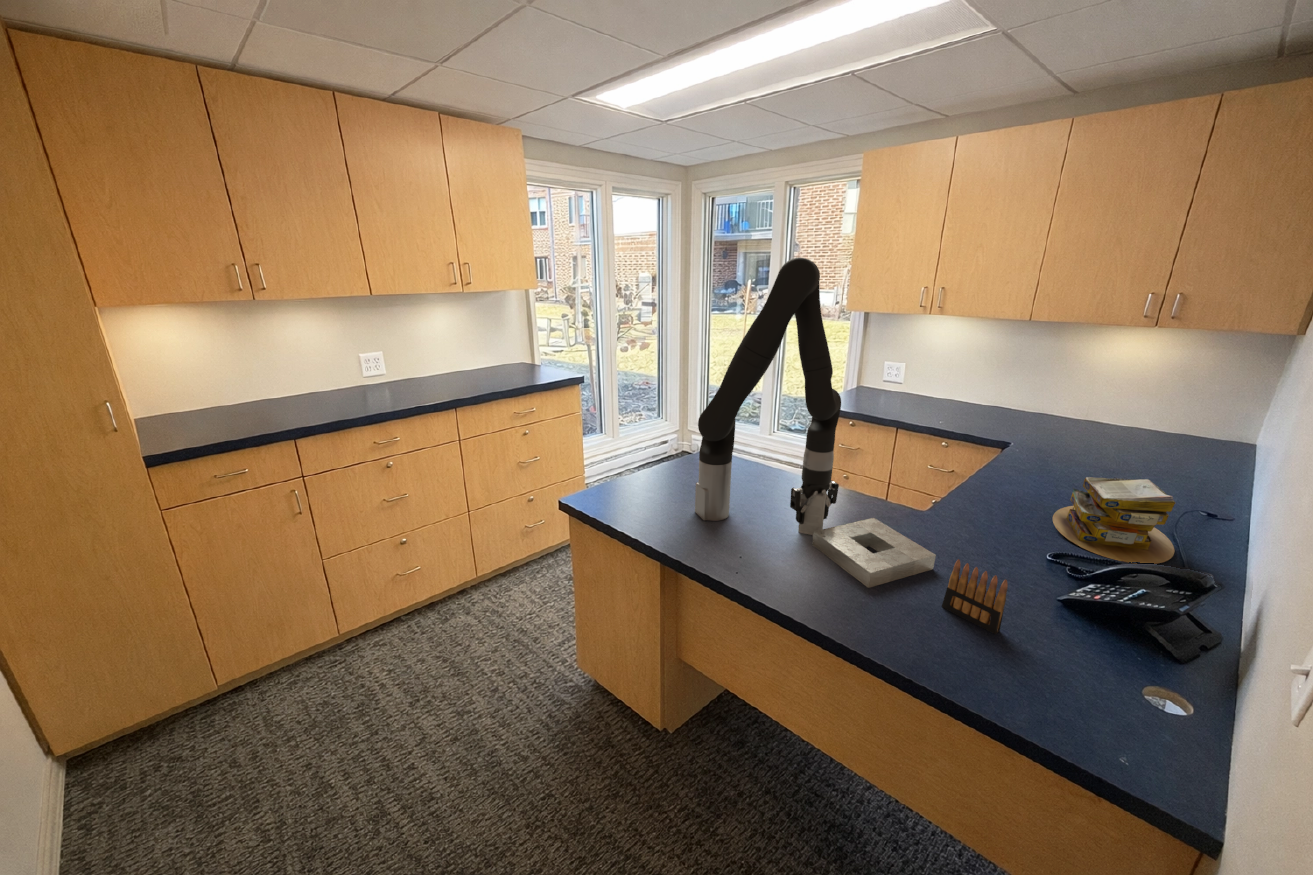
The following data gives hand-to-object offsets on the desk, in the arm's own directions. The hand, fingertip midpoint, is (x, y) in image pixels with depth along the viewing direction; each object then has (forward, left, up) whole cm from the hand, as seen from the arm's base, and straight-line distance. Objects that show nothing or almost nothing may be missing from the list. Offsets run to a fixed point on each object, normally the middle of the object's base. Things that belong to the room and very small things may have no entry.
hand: (811, 520), depth 139 cm
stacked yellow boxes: (+72, -33, -4) cm, 79 cm away
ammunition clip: (+8, -42, -4) cm, 43 cm away
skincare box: (0, 0, -4) cm, 4 cm away
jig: (+6, -16, -3) cm, 17 cm away
